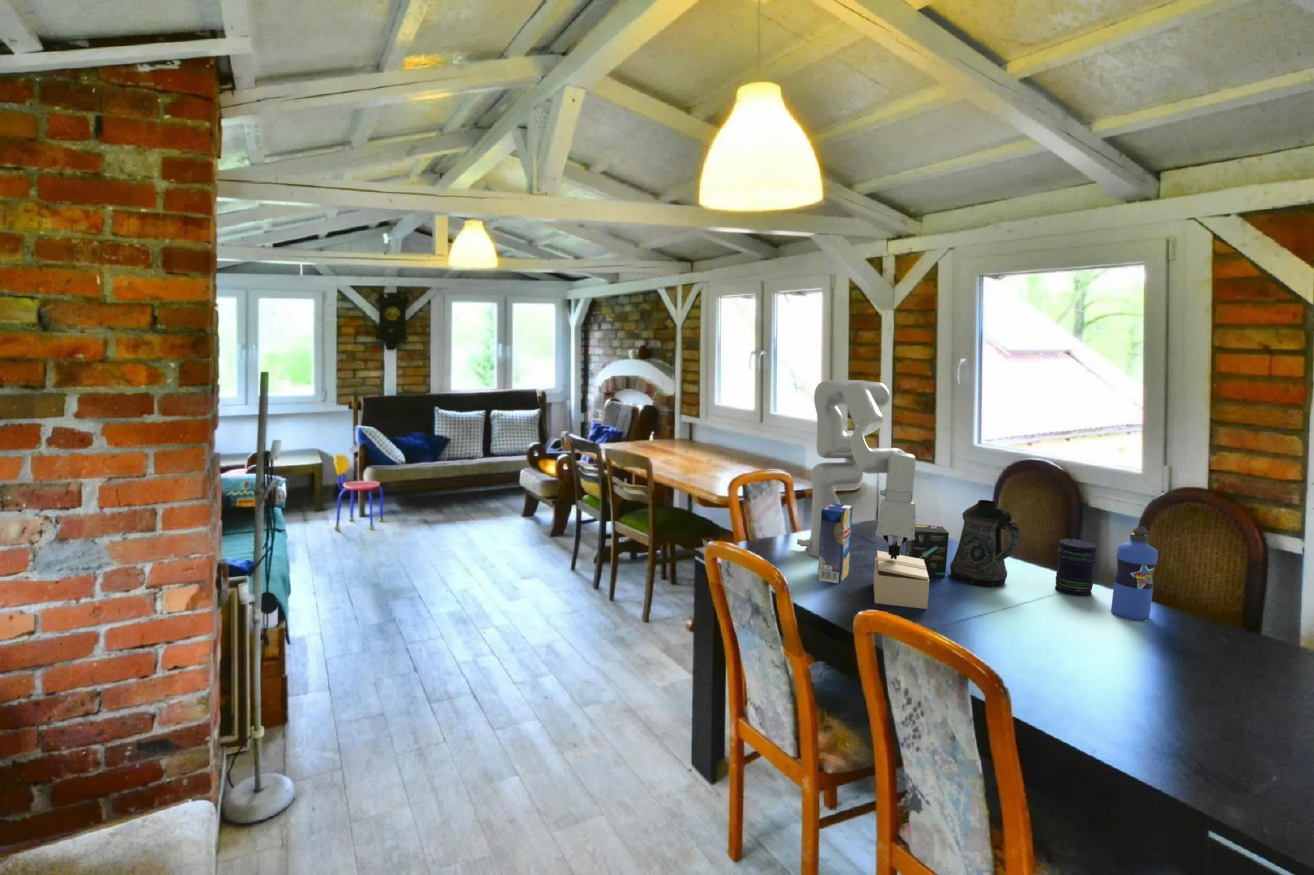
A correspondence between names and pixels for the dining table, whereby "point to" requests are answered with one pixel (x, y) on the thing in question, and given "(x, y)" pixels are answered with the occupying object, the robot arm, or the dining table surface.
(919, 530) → the tampon box
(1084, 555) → the storage jar
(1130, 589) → the water bottle
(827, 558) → the beverage box
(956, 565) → the beer stein
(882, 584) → the carton
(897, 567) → the lid
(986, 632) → the dining table surface
